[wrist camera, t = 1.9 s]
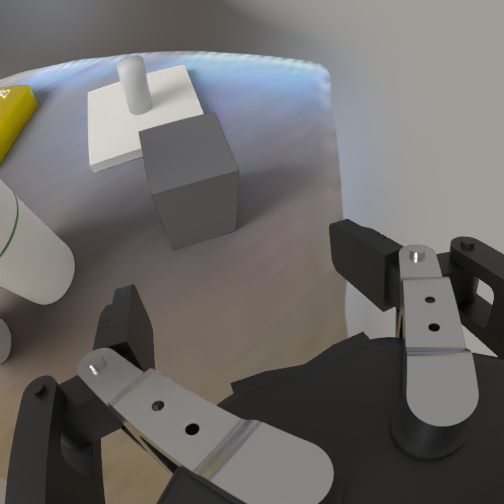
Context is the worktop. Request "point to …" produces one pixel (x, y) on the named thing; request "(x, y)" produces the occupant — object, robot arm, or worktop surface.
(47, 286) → the cylindrical container
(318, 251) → the worktop surface
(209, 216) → the tall grey pillar
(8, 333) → the house plant
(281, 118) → the worktop surface
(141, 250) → the worktop surface
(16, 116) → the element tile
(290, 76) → the worktop surface
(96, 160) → the stud plate
